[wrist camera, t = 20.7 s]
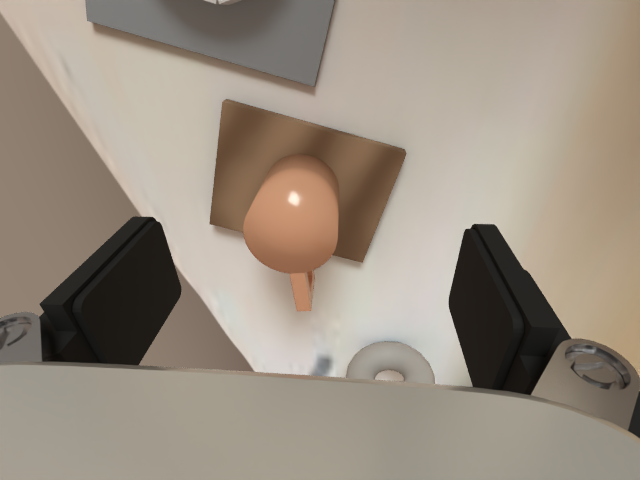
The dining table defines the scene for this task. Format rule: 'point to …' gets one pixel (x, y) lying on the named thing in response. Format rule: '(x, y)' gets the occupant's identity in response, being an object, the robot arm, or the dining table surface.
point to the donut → (390, 362)
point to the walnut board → (310, 139)
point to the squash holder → (230, 30)
